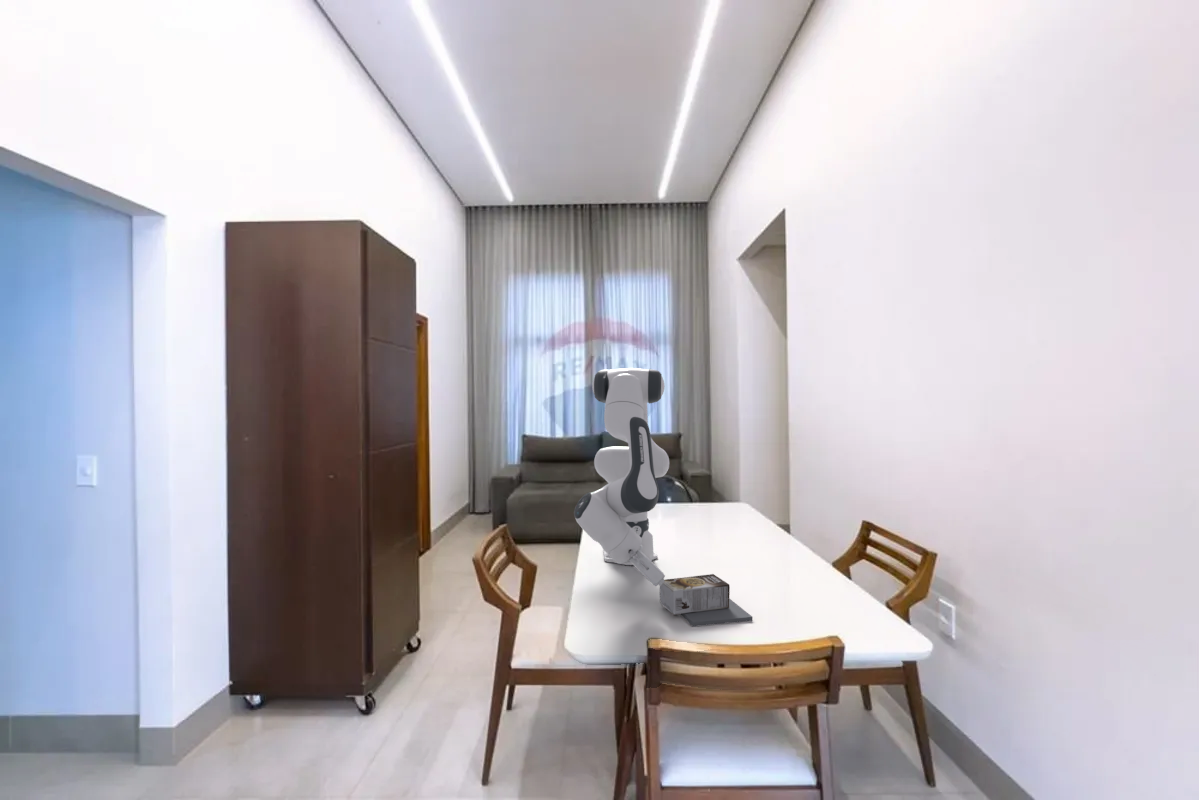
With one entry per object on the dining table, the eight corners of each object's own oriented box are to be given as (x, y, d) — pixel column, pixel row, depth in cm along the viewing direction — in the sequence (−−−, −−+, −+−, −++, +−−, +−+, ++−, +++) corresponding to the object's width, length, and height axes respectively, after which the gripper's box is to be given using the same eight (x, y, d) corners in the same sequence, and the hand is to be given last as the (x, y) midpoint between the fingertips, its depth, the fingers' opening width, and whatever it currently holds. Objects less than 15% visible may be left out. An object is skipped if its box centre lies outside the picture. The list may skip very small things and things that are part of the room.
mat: (667, 599, 150) (667, 596, 150) (721, 595, 154) (721, 591, 154) (692, 626, 133) (692, 622, 132) (752, 620, 136) (752, 616, 136)
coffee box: (659, 579, 145) (712, 573, 150) (659, 603, 145) (712, 596, 150) (673, 590, 136) (730, 583, 141) (673, 615, 136) (730, 608, 141)
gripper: (645, 547, 128) (684, 585, 130) (622, 527, 148) (656, 560, 150) (627, 567, 127) (666, 605, 130) (606, 544, 147) (641, 578, 149)
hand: (661, 581), depth 140 cm, fingers closed
